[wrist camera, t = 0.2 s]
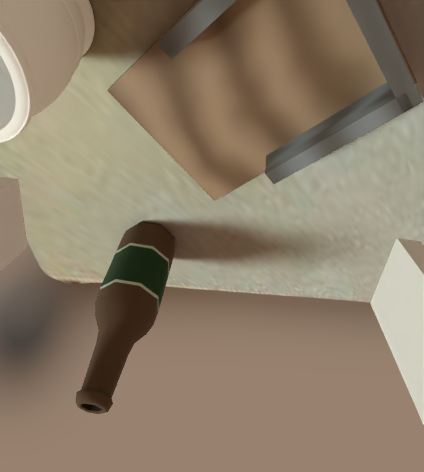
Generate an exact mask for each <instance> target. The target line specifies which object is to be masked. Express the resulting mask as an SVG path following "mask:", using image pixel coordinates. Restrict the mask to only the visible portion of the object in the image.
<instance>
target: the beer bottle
mask: <svg viewBox="0 0 424 472" xmlns="http://www.w3.org/2000/svg"><path fill="white" fill-rule="evenodd" d="M173 255H174V237H173V236H172V235H171V234H170V233H169V232H168V231H167V230H166V229H164V228H163V227H162V226H161V225H158V224H152V223H145V222H140V223H138V224H137V225H135V226H133V227H132V228H130V229H128V230H127V231H126V232H125V234H124V236H123V238H122V240H121V242H120V244H119V247H118V249H117V251H116V254H115V256H114V258H113V260H112V263H111V265H110V267H109V269H108V272H107V274H106V276H105V279H104V281H103V283H102V285H101V288H100V290H99V293H98V296H97V299H96V302H95V316H96V321H97V325H98V329H99V332H98V337H97V343H96V346H95V349H94V352H93V355H92V358H91V361H90V364H89V368H88V371H87V374H86V377H85V380H84V383H83V386H82V389H81V391H78V392H77V395H76V403H77V406H78V407H79V408H81V409H83V410H85V411H87V412H90V413H96V414H101V413H105V412H108V411H109V409H110V407H111V406H112V404H113V403H112V399H111V398H112V395H113V393H114V390H115V387H116V385H117V382H118V380H119V377H120V375H121V372H122V369H123V367H124V364H125V362H126V359H127V357H128V354H129V352H130V351H131V349H132V347H133V345H134V343H135V342H137V341H138V340H139V339H140V338H142V337H143V336H144V335H146V334H147V332H148V331H149V330H150V329H151V327H152V326H153V324H154V322H155V319H156V316H157V314H158V311H159V307H160V303H161V300H162V296H163V293H164V288H165V285H166V282H167V278H168V275H169V271H170V268H171V264H172V260H173Z"/></svg>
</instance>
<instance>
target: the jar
mask: <svg viewBox="0 0 424 472" xmlns="http://www.w3.org/2000/svg"><path fill="white" fill-rule="evenodd" d="M94 32H95V22H94V15H93V11H92V7H91V4H90V2H89V0H0V142H4V141H7V140H9V139H11V138H13V137H14V136H16V135H18V134H19V133H20V132H22V131H23V130H24V128H25V127H26V126H27V125H28V123H29V121H30V119H31V117H32V116H34V115H36V114H37V113H39V112H41V111H42V110H44V109H45V108H46V107H48V106H49V105H50V104H51V103H52V102H54V101H55V100H56V99H57V98H58V96H59V95H60V94H61V93H62V92H63V90H64V89H65V88H66V86H67V85H68V83H69V81H70V79H71V77H72V75H73V73H74V72H75V70H76V68H77V67H78V65H79V63H80V60H81V58H82V56H83V55H84V54H85V53H86V52H87V51H88V50H89V48H90V46H91V44H92V41H93V38H94Z"/></svg>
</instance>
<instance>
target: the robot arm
mask: <svg viewBox="0 0 424 472" xmlns="http://www.w3.org/2000/svg"><path fill="white" fill-rule="evenodd" d="M26 248H27V239H26V232H25V225H24V218H23V211H22V204H21V196H20V189H19V182H18V179H13V178H6V177H0V271H1V270H2V269H3V268H4V267H5V266H6V265H8V263H10V262H11V261H12V260H13V259H14V258H16V257H17V256H18V255H19V254H20V253H21V252H22V251H24V250H25V249H26ZM371 306H372V308H373V310H374V312H375V314H376V317H377V319H378V322H379V324H380V326H381V329H382V331H383V333H384V335H385V338H386V340H387V342H388V344H389V347H390V349H391V351H392V354H393V356H394V358H395V360H396V362H397V365H398V367H399V369H400V372H401V374H402V377H403V379H404V381H405V383H406V386H407V388H408V390H409V393H410V395H411V397H412V399H413V401H414V404H415V406H416V409H417V411H418V413H419V415H420V418H421V420H422V422H423V425H424V246H423V244H422V243H421V242H420V241H414V240H407V239H401V238H397V239H396V241H395V244H394V246H393V249H392V251H391V254H390V256H389V259H388V261H387V264H386V266H385V269H384V271H383V273H382V276H381V278H380V281H379V283H378V286H377V288H376V291H375V293H374V296H373V298H372V301H371Z"/></svg>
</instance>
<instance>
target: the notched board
mask: <svg viewBox="0 0 424 472" xmlns="http://www.w3.org/2000/svg"><path fill="white" fill-rule="evenodd" d="M415 83H417V82H416V80H415V78H414V75H413V73H412V71H411V69H410V67H409V65H408V63H407V60H406V58H405V56H404V54H403V52H402V50H401V47H400V45H399V43H398V41H397V39H396V37H395V34H394V32H393V30H392V28H391V26H390V24H389V21H388V19H387V17H386V15H385V13H384V11H383V8H382V6H381V4H380V2H379V0H198V1H197V2H196V3H195V4H194V5H193V6H192V7H191V8H190V9H189V10H188V11H187V12H186V13H185V14H184V15H183V16H182V17H181V18H180V19H179V20H178V21H177V22H176V23H175V24H174V25H173V26H172V27H171V28H170V29H169V30H168V31H167V32H166V33H165V34H163V35H162V36H161V37H160V38H159V39H158V40H157V41H156V42H155V43H154V44H153V45H152V46H151V47H150V48H149V49H148V50H147V51H146V52H145V53H144V54H143V55H142V56H141V57H140V58H139V59H138V60H137V61H136V62H135V63H134V64H133V65H132V66H131V67H130V68H129V69H128V70H127V71H126V72H125V73H124V74H123V75H122V76H121V77H120V78H119V79H118V80H117V81H116V82H115V83H114V84H113V85H112V86H111V87H110V88H109V89H108V90H107V91H108V92H109V93H110V94H111V95H112V96H113V97H114V98H115V99H116V100H117V101H118V102H119V103H120V104H121V105H122V106H123V107H124V108H125V109H126V110H127V111H128V112H129V114H130V115H131V116H132V117H133V118H134V119H135V120H136V121H137V122H138V123H139V124H140V125H141V126H142V127H143V128H144V129H145V130H146V131H147V132H148V133H149V134H150V135H151V136H152V137H153V138H154V139H155V140H156V141H157V142H158V143H159V144H160V145H161V146H162V147H163V149H164V150H165V151H166V152H167V153H168V154H169V155H170V156H171V157H172V158H173V159H174V160H175V161H176V162H177V163H178V164H179V165H180V166H181V167H182V168H183V169H184V170H185V171H186V172H187V173H188V174H189V175H190V176H191V177H192V178H193V179H194V180H195V181H196V182H197V183H198V185H199V186H200V187H201V188H202V189H203V190H204V191H205V192H206V193H207V194H208V195H209V196H210V197H211V198H212V199H213V200H214V201H215V200H216V199H218V198H220V197H222V196H223V195H225V194H227V193H228V192H230V191H232V190H234V189H235V188H237V187H239V186H240V185H242V184H244V183H246V182H247V181H249V180H251V179H252V178H254V177H256V176H258V175H259V174H261V173H263V172H264V171H265V174H266V175H267V176H268V178H269V179H270V180H271V181H272V182H273V184H275V183H277V182H279V181H281V180H282V179H284V178H286V177H288V176H290V175H292V174H293V173H295V172H297V171H299V170H301V169H302V168H304V167H306V166H308V165H310V164H311V163H313V162H315V161H317V160H319V159H321V158H322V157H324V156H326V155H328V154H330V153H331V152H333V151H335V150H337V149H339V148H340V147H342V146H344V145H346V144H348V143H350V142H351V141H353V140H355V139H357V138H359V137H360V136H362V135H364V134H366V133H368V132H369V131H371V130H373V129H375V128H377V127H379V126H380V125H382V124H384V123H386V122H388V121H389V120H391V119H393V118H395V117H397V116H398V115H400V114H402V113H404V112H406V111H407V110H409V109H411V108H413V107H415V106H417V105H418V104H420V103H422V102H423V100H422V98H421V96H420V94H419V92H418V90H417V88H416V85H415Z"/></svg>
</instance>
